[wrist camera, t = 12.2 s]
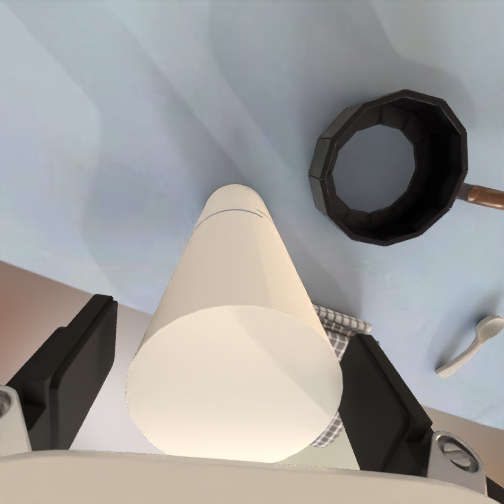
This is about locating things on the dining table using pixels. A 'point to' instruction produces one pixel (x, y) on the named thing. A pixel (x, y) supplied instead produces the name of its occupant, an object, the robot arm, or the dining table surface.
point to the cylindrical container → (234, 345)
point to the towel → (339, 335)
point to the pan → (424, 178)
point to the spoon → (474, 343)
